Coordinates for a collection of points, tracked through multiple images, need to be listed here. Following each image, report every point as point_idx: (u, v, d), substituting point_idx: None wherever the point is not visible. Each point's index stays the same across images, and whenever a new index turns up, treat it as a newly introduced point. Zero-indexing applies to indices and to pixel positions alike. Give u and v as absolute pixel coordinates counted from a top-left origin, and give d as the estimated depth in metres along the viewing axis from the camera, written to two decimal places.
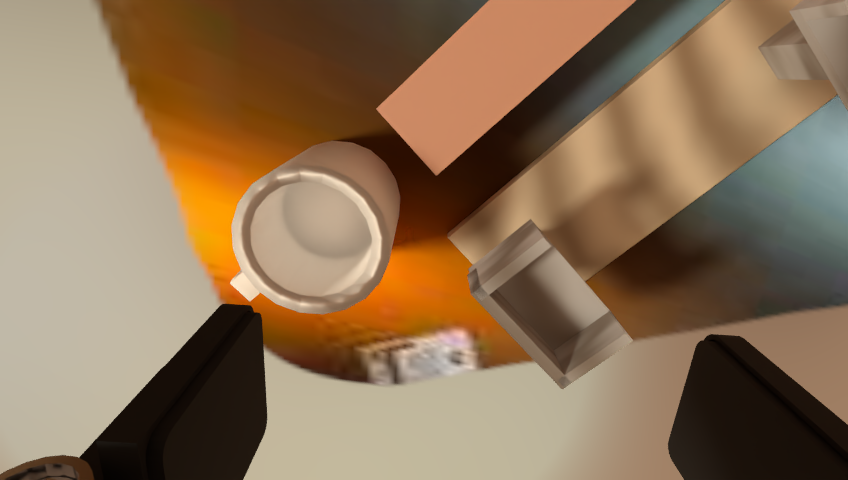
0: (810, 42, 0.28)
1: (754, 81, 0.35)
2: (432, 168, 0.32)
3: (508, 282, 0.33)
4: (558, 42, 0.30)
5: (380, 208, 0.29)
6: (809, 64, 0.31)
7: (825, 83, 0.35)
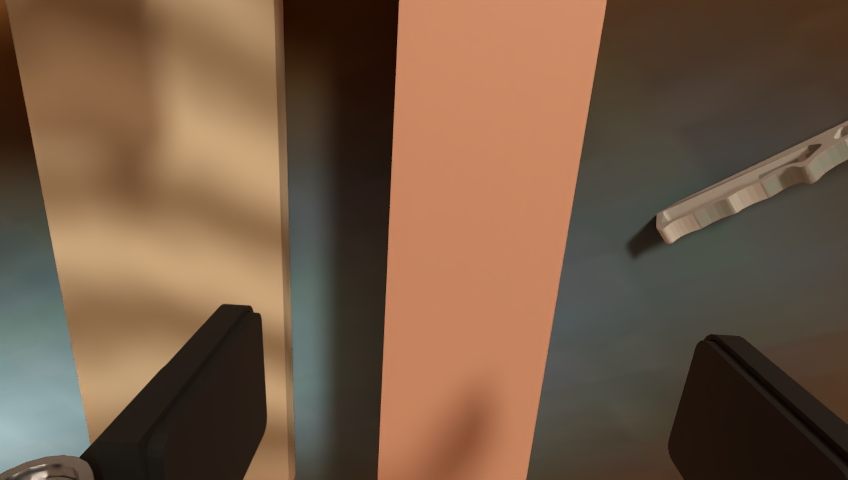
0: None
1: None
2: None
3: None
4: (424, 245, 0.16)
5: None
6: None
7: None
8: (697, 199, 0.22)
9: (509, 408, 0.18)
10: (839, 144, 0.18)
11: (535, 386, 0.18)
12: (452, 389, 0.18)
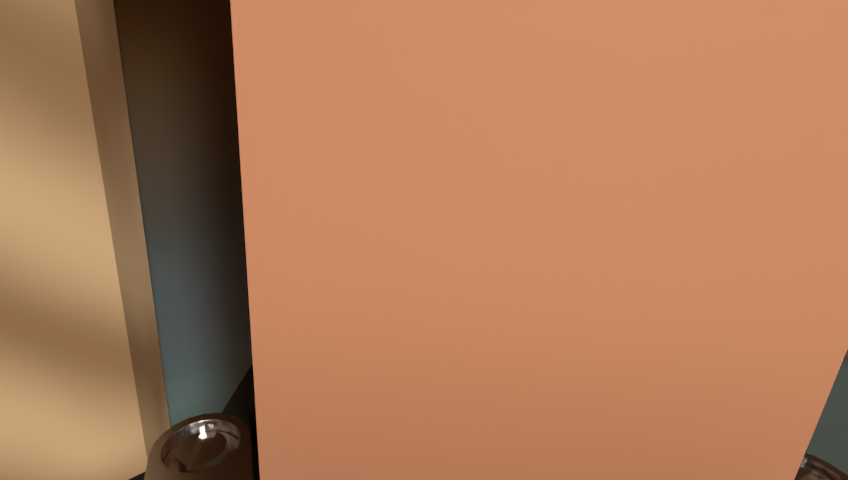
0: None
1: None
2: None
3: None
4: None
5: None
6: None
7: None
8: None
9: None
10: None
11: None
12: None
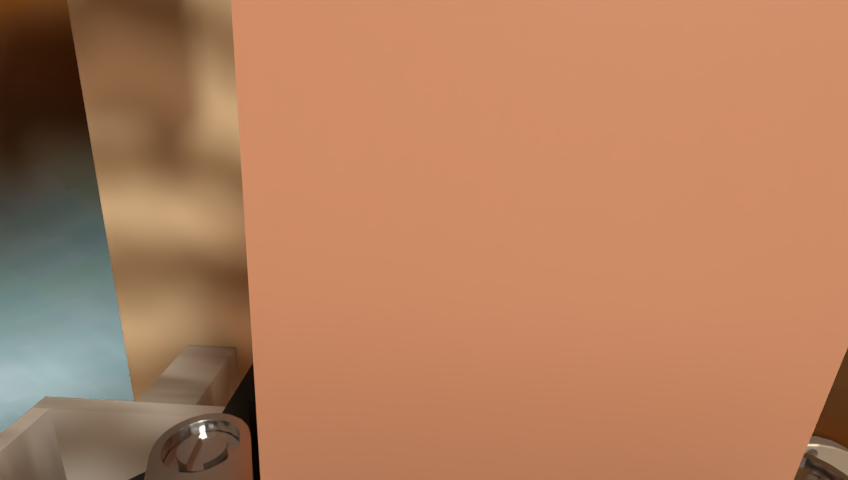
0: (196, 408, 0.22)
1: (202, 326, 0.29)
2: None
3: None
4: None
5: None
6: (178, 384, 0.26)
7: (151, 375, 0.30)
8: None
9: None
10: None
11: None
12: None
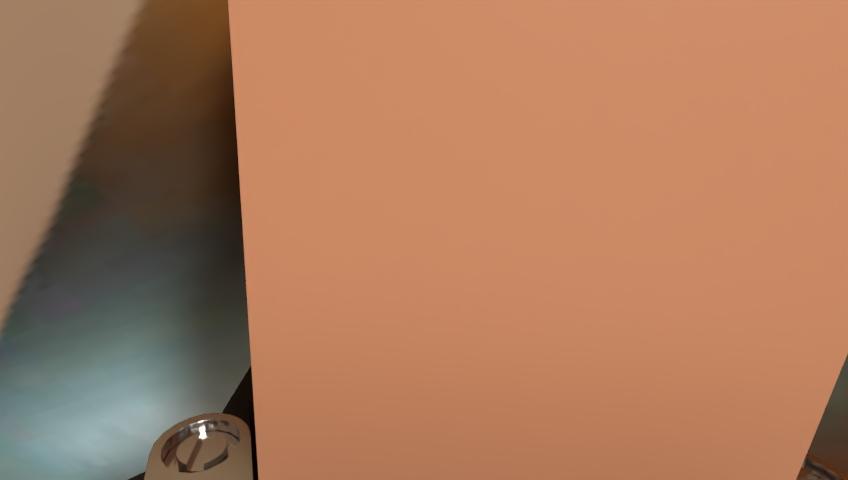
0: None
1: None
2: None
3: None
4: None
5: None
6: None
7: None
8: None
9: None
10: None
11: None
12: None
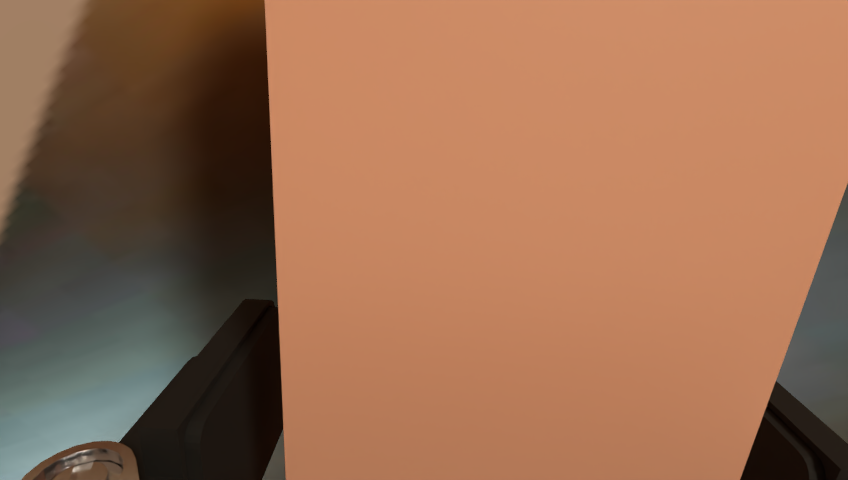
0: None
1: None
2: None
3: None
4: (378, 474, 0.06)
5: None
6: None
7: None
8: None
9: None
10: None
11: None
12: None
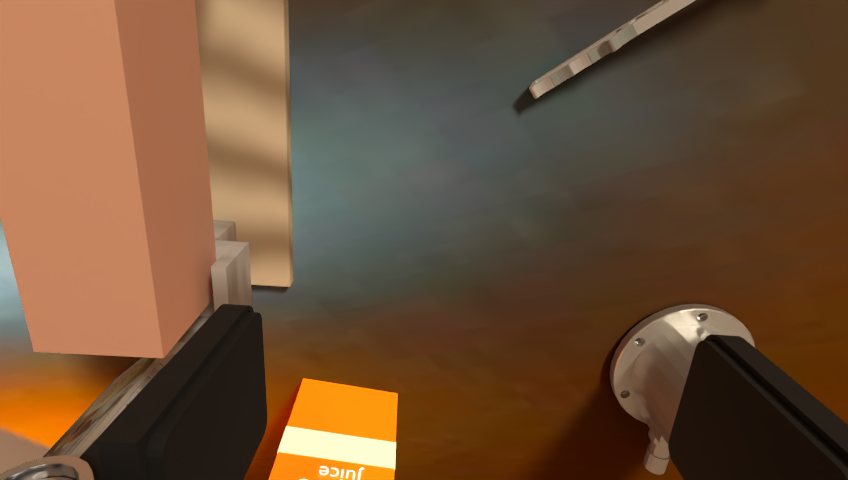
0: None
1: None
2: None
3: None
4: None
5: None
6: None
7: None
8: (556, 71, 0.33)
9: (117, 211, 0.20)
10: (629, 26, 0.30)
11: (134, 188, 0.20)
12: (60, 192, 0.20)
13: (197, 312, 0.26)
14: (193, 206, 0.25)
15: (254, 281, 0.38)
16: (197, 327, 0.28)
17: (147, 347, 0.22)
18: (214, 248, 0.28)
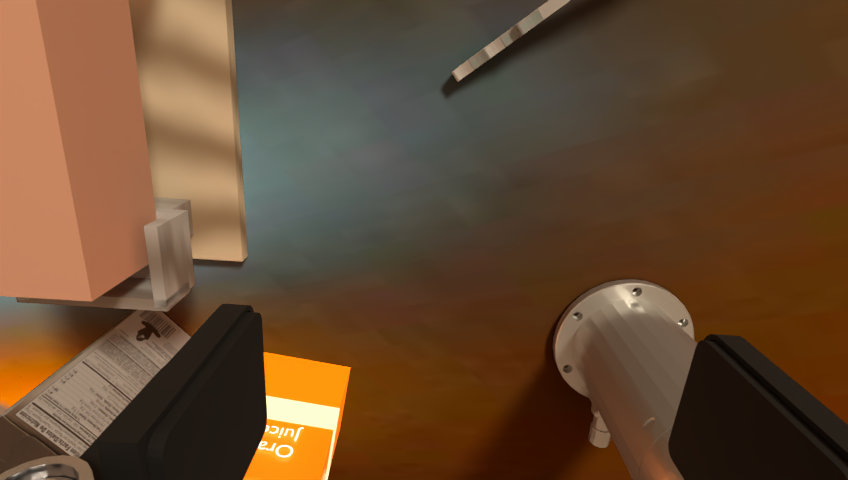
0: None
1: (164, 181, 0.38)
2: None
3: None
4: None
5: None
6: None
7: None
8: None
9: (44, 166, 0.23)
10: (536, 12, 0.33)
11: (58, 145, 0.23)
12: None
13: (133, 268, 0.29)
14: (128, 172, 0.28)
15: (209, 256, 0.41)
16: (140, 286, 0.32)
17: (77, 291, 0.25)
18: (154, 214, 0.31)
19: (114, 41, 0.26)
